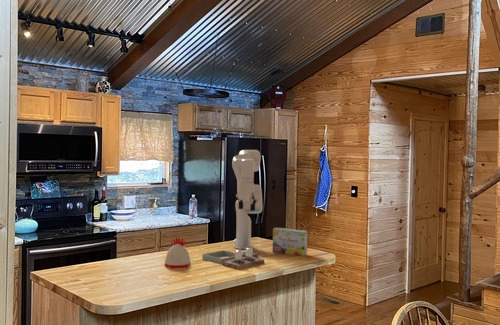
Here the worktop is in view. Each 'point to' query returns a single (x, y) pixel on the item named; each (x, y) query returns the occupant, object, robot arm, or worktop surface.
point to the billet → (249, 254)
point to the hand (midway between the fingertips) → (246, 209)
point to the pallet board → (243, 263)
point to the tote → (219, 256)
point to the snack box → (290, 241)
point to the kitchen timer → (177, 255)
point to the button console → (253, 255)
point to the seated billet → (238, 256)
